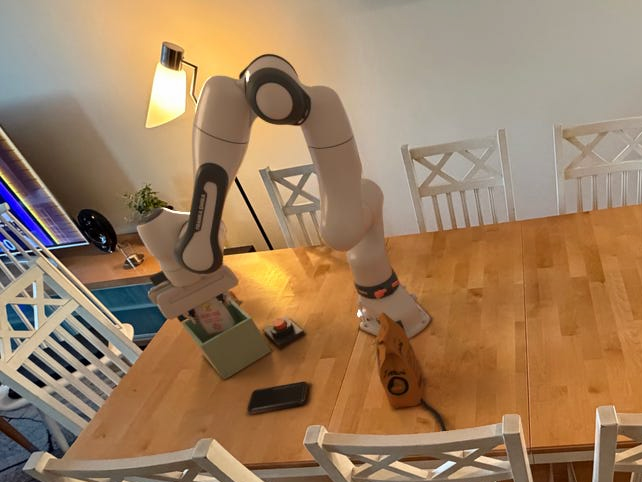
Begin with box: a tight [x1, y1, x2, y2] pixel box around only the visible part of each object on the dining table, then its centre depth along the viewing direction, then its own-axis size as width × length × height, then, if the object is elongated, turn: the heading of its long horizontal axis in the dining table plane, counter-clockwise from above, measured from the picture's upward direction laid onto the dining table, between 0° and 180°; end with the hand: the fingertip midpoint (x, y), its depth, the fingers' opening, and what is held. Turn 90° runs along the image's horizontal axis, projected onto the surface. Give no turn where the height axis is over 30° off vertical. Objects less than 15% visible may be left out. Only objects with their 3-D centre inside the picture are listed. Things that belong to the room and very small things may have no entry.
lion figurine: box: [228, 289, 241, 308], centre depth 163 cm, size 15×5×9 cm, turn 34°
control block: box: [262, 316, 305, 350], centre depth 153 cm, size 11×8×4 cm
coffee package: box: [375, 313, 425, 409], centre depth 122 cm, size 10×12×22 cm
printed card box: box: [193, 298, 235, 335], centre depth 138 cm, size 4×7×10 cm, turn 97°
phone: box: [246, 381, 309, 415], centre depth 133 cm, size 8×1×15 cm
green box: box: [180, 297, 272, 380], centre depth 146 cm, size 16×15×13 cm
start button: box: [272, 318, 287, 330], centre depth 151 cm, size 4×4×2 cm
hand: (212, 313), depth 138 cm, fingers closed on printed card box, 7 cm apart
